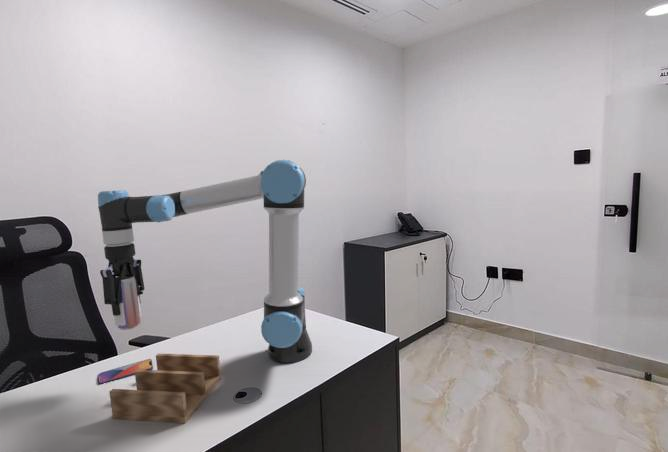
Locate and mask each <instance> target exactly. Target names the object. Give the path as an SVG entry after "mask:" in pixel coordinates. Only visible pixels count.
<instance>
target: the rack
mask: <svg viewBox="0 0 668 452" xmlns="http://www.w3.org/2000/svg"><path fill="white" fill-rule="evenodd" d="M155 361H156V369H152V370H136V371H135V375H134V377H135V378H134V379H135V385H136V389H124V388H123V389H121V388H112V389H111V390H109V397H110V398H109V399H110V401H109V402H110V406H111V407H110V408H111V415H112V419H114V420H124V421H125V420H128V421H129V420H130V421H144V422H160V423H173V424H186V423H187V422H188V421H189V419H190V418H192V416H193V414H194V413H195V412H196V411H197V409H198V408H199V407H200V405H202V404H203V402H204V400H206V399H207V397H208V396H209V395H210V393H211V392H212V391H213V390H214V388H215V387H216V386H217V385H218V383H219V382H220V381H221V380H222V376H221V375H222V374H221V363H220V361H221V360H220V355H215V354H213V355H212V354H210V355H208V354H185V353H182V354H181V353H157V354H156V355H155Z"/></svg>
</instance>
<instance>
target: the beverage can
mask: <svg viewBox="0 0 668 452" xmlns="http://www.w3.org/2000/svg"><path fill="white" fill-rule="evenodd" d="M121 289H122V293H121V302H120V303H123V306H124V314H125V322H126V325H124V326H117V328H118V329H119V330H121V331H128V330H133V329H135V328H137V327H138V326H140V325H141V322H142V321H141V316H140V312H139V304H138V296H137V288H136V280H135V278H134V276H133V277H132V276H128V277H125V278H124V280H121ZM115 300H116V299H115Z"/></svg>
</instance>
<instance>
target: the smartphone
mask: <svg viewBox="0 0 668 452" xmlns="http://www.w3.org/2000/svg"><path fill="white" fill-rule="evenodd" d="M136 370H154V365H153V361H152V359H151V358H148V359H143V360H140V361H137V362H133V363H130V364H127V365H123V366H118V367H116V368H112V369H108V370H107V371H102V372H100V373H98V377H97V385H99V386H100V385H104V383H105V384H107V383H111V381H112V382H115V380H116V381H119V380H122V379H127V378H129V377H133V376H135V371H136Z"/></svg>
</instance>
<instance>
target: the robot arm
mask: <svg viewBox="0 0 668 452" xmlns="http://www.w3.org/2000/svg"><path fill="white" fill-rule="evenodd" d="M306 182H307V178H306V174H305V172H304V171H303V169H302V168H301V167H300V165H298V164H297V163H296V162H293V161H292V160H289V159H288V160H287V159H279V160H275V161H273V162H272V161H271V163H269V164H268V165H267V166H266V167H265V168H264V170H262V171H260V172H259V173H258V175H254V176H248V177H243V178H238V179H233V180H230V181H225V182H221V183H216V184H211V185H206V186H200V187H197V188H192V189H187V190H183V191H177V192H172V193H168V194H159V195H158V194H155V195H146V196H145V195H144V196H130V195H129V192H128V191H127V190H125V189H124V190H123V189H121V190H103V191H99V192H98V194H97V209H98V212H99V217H100V224H101V231H102V233H101V234H102V241H103V245H105V246H104V247H103V248H104V256H105V257H104V258H105V259H106V260H107V261H108V265H107V268H105V269H101V270H100V272H99V273H100V276H101V278H102V279H101V280H102V289H103V299H104V300H103V301H104V302H103V303H104V305H111V309H112V310H111V311H112V315H113V317H114V325H115V326H117V327H118V326H124V325H126V322H125V314H124V306H123V303H120V302H121V293H122V289H121V280H124V278H125V277H128V276H132V277H133V276H134V278H135V280H136V288H137V296H138V304H139V312H140V317H141V316H142V308H141V303H142V302H141V295H143V294H144V290H145V284H144V276H143V272H142V259H135V258H134V256H135V255H136V249H135V247H136V246H135V244H134V241H135V238H134V236H135V235H134V230H133V224H136V223H161V222H162V223H163V222H169V221H171V220H172V219H173V218H177V217H180V216H185V215H189V214H195V213H199V212H203V211H204V212H205V211H209V210H213V209H218V208H223V207H228V206H233V205H237V204H243V203H247V202H251V201H252V202H253V201H256V200H261V199H263V209H264V210H265V211H266V212H267V213H268V294H267V295H266V296H265V297H264V298H263V320H262V322H261V325H260V326H261V327H260V331H261V336H262V337H263V339H264V341H265V342H266V343H267V344H268V348H267V352H268V353H267V355H268V357H269V359H271V361H274V362H277V363H282V364H285V363H286V364H290V363H291V364H292V363H297V362H300V361H303V360H305V359H307V358H308V357H309V356H310V355H311V354H312V352H313V343H312V340H311V338H310V335H309V333H308V330H307V324H306V323H307V320H306V319H307V318H306V303H305V302H306V301H305V297H306V294H305V289H304V288H303V287H301V286H299V235H300V234H299V230H300V227H299V226H300V224H299V223H300V222H299V221H300V220H299V219H300V218H299V214H300V213H301V212H302V211H303V210H304V209H305V187H306V186H307V185H306V184H307V183H306ZM115 299H116V300H115Z"/></svg>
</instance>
